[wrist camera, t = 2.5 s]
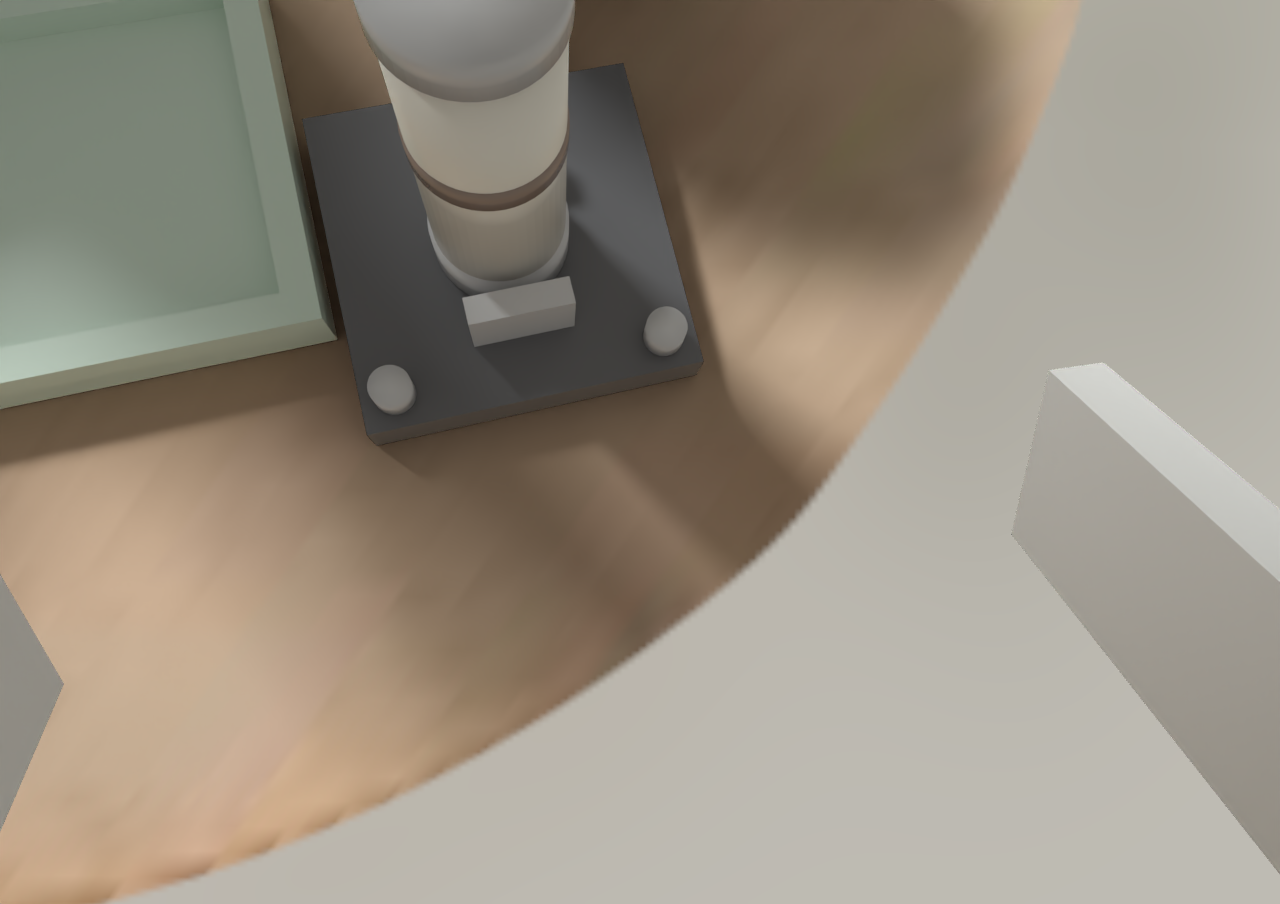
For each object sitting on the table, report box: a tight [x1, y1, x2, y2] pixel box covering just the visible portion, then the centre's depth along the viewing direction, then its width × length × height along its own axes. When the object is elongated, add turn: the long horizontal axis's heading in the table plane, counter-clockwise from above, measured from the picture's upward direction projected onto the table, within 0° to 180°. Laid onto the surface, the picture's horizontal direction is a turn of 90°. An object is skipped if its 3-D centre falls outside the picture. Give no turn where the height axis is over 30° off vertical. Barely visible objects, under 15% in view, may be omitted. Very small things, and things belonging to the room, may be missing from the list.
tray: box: [0, 0, 338, 409], centre depth 28 cm, size 12×12×2 cm
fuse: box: [353, 0, 575, 296], centre depth 22 cm, size 4×4×12 cm
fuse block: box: [302, 63, 704, 445], centre depth 28 cm, size 10×10×4 cm
